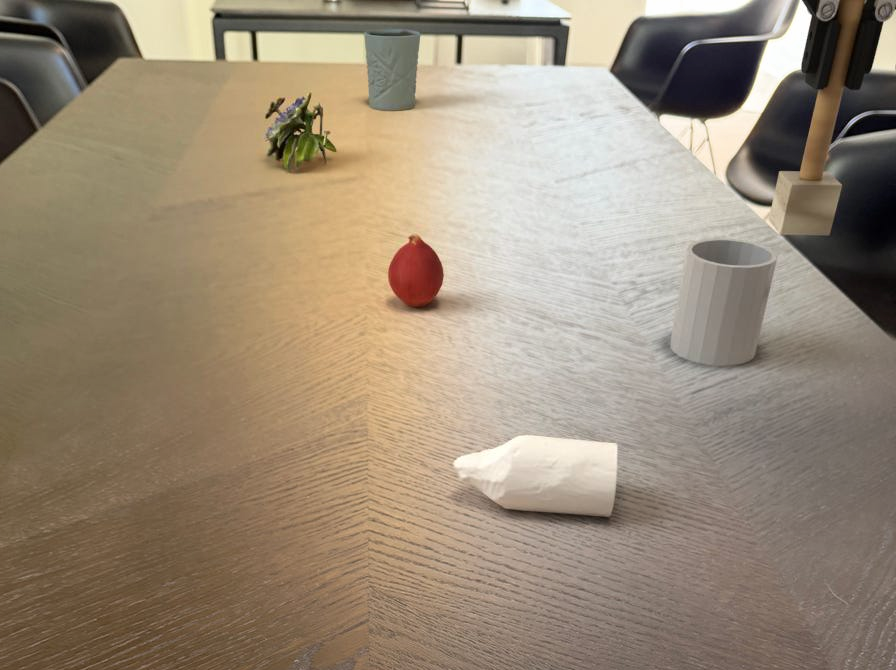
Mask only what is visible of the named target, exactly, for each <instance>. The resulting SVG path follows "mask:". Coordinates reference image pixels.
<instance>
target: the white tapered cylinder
mask: <svg viewBox="0 0 896 670" xmlns="http://www.w3.org/2000/svg"><path fill="white" fill-rule="evenodd" d="M618 466H619V446H618V444H617V443H616V442H605V441H597V440H596V441H595V440H586V439H571V438H566V437H565V438H563V437H553V436H544V435H533V434H532V435H531V434H524V435H522V434H521V435H519V436H516V437H515V436H514V437H513V438H512V439H510V440H508V441H507V442H505V443H503V444H501V445H499V446H496V447H494V448H488V449H485V450H481V451H478V452H472V453H469V454H464V455H461V456H458V457H457V458H456V459H455V460H454V461H453V468H454V469H455V470H456V472H457V476H458V477H459V479H460V480H461V481H462V482H464V483H467V484H468V485H470V486H472V487H474V488H475V489H476V490H478V491H480V492H481V493H482V494H483V495H484V496H487V498H489V499H490V500H491V501H493V503H495V504H497V505H499V506H500V507H502V508H504V509H505V510H515V511H521V512H537V513H539V512H540V513H551V514H567V515H580V516H589V517H590V516H592V517H605V518H610V517H611V514H612V513H613V509H614V505H615V498H616V491H617V481H618V468H619V467H618Z"/></svg>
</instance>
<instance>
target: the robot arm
mask: <svg viewBox="0 0 896 670" xmlns="http://www.w3.org/2000/svg"><path fill="white" fill-rule="evenodd" d="M801 2H802V3H803V4H804V6H805V7H806V11H807V13H808V14H809V15H811V16H810V22H809V26H808V31H807V36H806V37H807V38H806V40H805V46H804V51H803V54H802V59H801V67H800V70H801V73H803V74H805V76H804V82H805V84H807V85H808V86H809V87H810V88H812V89H814V90H815V91H819V90H823V89H824V88H827V86H828V83H829V79H830V74H831V70H832V66H833V61H834V57H835V53H836V48H837V44H838V40H839V36H840V31H841V23H840V22H839V21H837V16H838V12H839V10H838V3H839V0H801ZM895 11H896V0H865V2H864V6H863V11H862V15H861V19H860V23H859V27H858V31H857V35H856V39H855V44H854V48H853V52H852V56H851V60H850V64H849V68H848V73H847V77H846V81H845V85H844V88H847V89H848V90H849V91H860V89H861V87H862V85H863V81H864V77H865V75H869V74H870V73H871V72H872V68H873V65H874V62H875V59H876V54H877V51H878V46H879V41H880V39H881V34H882V30H883V27H884V22H887V21H888V20H890V19H891V18H892V16H893V15H894V12H895Z"/></svg>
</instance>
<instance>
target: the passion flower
mask: <svg viewBox="0 0 896 670" xmlns="http://www.w3.org/2000/svg"><path fill="white" fill-rule="evenodd" d="M311 99H312V91H309V92H307V95H306V97H305V96H302V97H298V98H296V99H295V101H294V102H292V103H291V105H290V106H288V107H286V109H283V111H281V110H280V109H279V108H280V107H281V106H282V105H283V104H284V102H285V101H286V97H280V96H278V97H277V99H276V100H275V102H274V101H271V102H270V104H269V108H268V110H267V111H266V112H265V113H264V114H265V116H264V118H265V120H268V119H269V118H270V117H271V116H272V115H273V114H274V113H277V114H278V116H277V117H275V120H274V123H271V126H269V127H268V128H267V131H266V132H265V136H266V137H264V140H265V142H267V141H268V144H269V147H268V150H267V153H266V156H267V157H271V156H273V158H274V159H275V161H280V160H282V159H283V160H282V162H283V166H284V167H283V168H284V169H285V170H287V172H288V173H291V171H292V170H291V169H292V168H291V167H292V163H293V160H294V164H295V167H296V168H299V167H301V166H302V165H304V163H305V162H306V163H310V162H312V161H313V160H315V158H316V157H317V155H318V154H319V150H320V152H321V154H322V157H323V160H324V164H325V165H327V164H328V163H327V158H326V157H327V156H326V150H328V151H330V152H333V153H337V148H336V146H335V145H334V144H333V142H332V141H331V140H330V139H329V138H328V136H329V135H331V131H330V130H324V131H323V120H324V119H323V117H324V108H323V106H322V105H321V103H320V102H319V101H317V102H316V103H315V104H314V105H312V108H313V110H312V111H311V110H309V108H308V107H309V104H310V102H311ZM318 116H319V118H320V119H319V133H313V125H314V121H315V120H316V119H317V117H318ZM302 130H303V131H302ZM297 132H298V133H299V134H297ZM323 133H324V134H323ZM266 138H267V139H266Z"/></svg>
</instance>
